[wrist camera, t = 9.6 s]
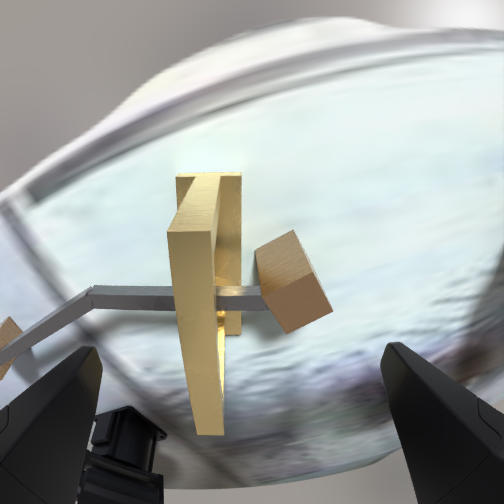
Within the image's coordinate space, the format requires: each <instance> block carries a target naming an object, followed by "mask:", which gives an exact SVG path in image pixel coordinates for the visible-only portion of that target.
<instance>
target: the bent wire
mask: <svg viewBox="0 0 504 504" xmlns="http://www.w3.org/2000/svg"><path fill="white" fill-rule="evenodd" d="M255 254H256V261H257V267H258V274H259V281H260V286H215V288H216V308H217V311H255V310H271V312H272V313H273V315H274V316H275V318H276V319H277V321H278V322H279V324H280V325H281V327H282V328H283V330H284V331H285V333H286V334H288V333H290V332H292V331H294V330H296V329H299V328H301V327H303V326H305V325H307V324H309V323H311V322H313V321H315V320H317V319H319V318H321V317H323V316H325V315H327V314H329V313H331V312H333V309H332V307H331V305H330V303H329V301H328V298H327V296H326V294H325V292H324V290H323V287H322V285H321V283H320V281H319V279H318V277H317V275H316V272H315V270H314V268H313V266H312V264H311V262H310V260H309V258H308V256H307V254H306V252H305V251H304V249H303V247H302V245H301V243H300V241H299V239H298V237H297V236H296V234H295V232H294V230H292V231H290V232H288V233H286V234H284V235H283V236H281V237H279V238H277V239H275V240H273V241H271V242H269V243H267V244H266V245H264V246H262V247H260V248H258V249H256V250H255ZM94 308H96V309H119V310H154V311H176V309H175V302H174V294H173V286H103V285H94V286H93V288H92V287H91V286H90V287H89V288H87V289H86V290H84V291H83V292H81V293H80V294H78V295H77V296H75V297H74V298H72V299H71V300H69V301H68V302H66V303H65V304H63V305H62V306H60V307H59V308H57V309H56V310H55V311H53V312H52V313H50V314H49V315H47V316H46V317H44V318H43V319H41V320H40V321H39V322H37V323H36V324H34V325H33V326H31V327H30V328H29V329H27V330H26V331H24V332H22V331H21V330H20V328H19V327H18V326H17V325H16V324H15V323H14V321H13V320H12V319H11V318H10V317H8V318H7V319H5V320H4V321H3V322H2V323H1V324H0V380H2V379H3V378H4V376H5V374H6V373H7V371H8V370H9V368H10V366H11V365H12V363H13V362H14V360H15V358H16V357H17V356H18V355H19V354H21V353H22V352H24V351H26V350H27V349H29V348H30V347H32V346H34V345H35V344H37V343H38V342H40V341H42V340H43V339H45V338H46V337H48V336H50V335H51V334H53V333H55V332H56V331H58V330H59V329H61V328H63V327H64V326H66V325H68V324H69V323H71V322H73V321H74V320H76V319H77V318H79V317H81V316H82V315H84V314H86V313H87V312H89V311H91V310H92V309H94Z"/></svg>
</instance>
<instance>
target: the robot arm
mask: <svg viewBox="0 0 504 504" xmlns="http://www.w3.org/2000/svg"><path fill="white" fill-rule="evenodd" d="M380 368H381V373H382V377H383V381H384V386H385V390H386V395H387V400H388V404H389V408H390V411H391V414H392V418H393V421H394V424H395V427H396V430H397V433H398V436H399V439H400V442H401V446H402V449H403V452H404V455H405V459H406V462H407V466H408V469H409V472H410V476H411V479H412V483H413V487H414V490H415V494H416V497H417V502H418V504H504V414H503V413H501V412H499V411H498V410H496V409H495V408H493V407H492V406H490V405H489V404H487V403H486V402H485V401H483V400H482V399H480V398H479V397H478V398H477V396H476V395H475V394H473V393H472V392H471V391H469V390H468V389H466V388H465V387H463V386H462V385H461V384H459V383H458V382H456V381H455V380H454V379H452V378H451V377H449V376H448V375H447V374H445V373H444V372H442V371H441V370H439V369H438V368H437V367H435V366H434V365H432V364H431V363H430V362H428V361H427V360H425V359H424V358H422V357H421V356H420V355H418V354H417V353H415V352H414V351H413V350H411V349H410V348H408V347H407V346H405V345H404V344H403V343H401V342H391V343H388V344H387V345H386V348H385V351H384V353H383V356H382V359H381V363H380ZM102 372H103V367H102V363H101V360H100V358H99V355H98V352H97V350H96V348H95V347H94V346H86V345H83V346H81V347H80V348H78V349H77V350H76V351H74V352H73V353H72V354H71V355H69V356H68V357H67V358H65V359H64V360H63V361H62V362H60V363H59V364H58V365H57V366H55V367H54V368H53V369H51V370H50V371H49V372H48V373H46V374H45V375H44V376H43V377H41V378H40V379H39V380H38V381H36V382H35V383H34V384H32V385H31V386H30V387H29V388H27V389H26V390H25V391H24V392H22V393H21V394H20V395H19V396H18V397H16V398H15V399H14V400H13V401H11V402H10V403H9V405H6V406H5V407H4V408H3V409H1V410H0V504H75V502H76V501H77V502H78V503H77V504H164V489H163V475H161V474H155V473H152V467H153V460H154V453H155V447H156V441H160V440H164V439H166V438H167V434H166V433H164V432H163V431H162V430H160V429H159V428H158V427H156V426H155V425H154V424H153V423H151V422H150V421H149V420H148V419H146V418H145V417H144V416H143V415H141V414H140V413H139V412H138V411H136V410H135V409H134V408H133V407H131V406H126V407H122V408H119V409H116V410H113V411H109V412H106V413H102V414H99V415H96V416H95V413H96V408H97V402H98V396H99V390H100V384H101V378H102ZM93 421H95V422H96V426H95V429H94V432H93V435H92V439H91V444H92V445H93V447H92V451H91V452H90V451H89V450H87V445H88V441H89V437H90V433H91V429H92V425H93ZM85 469H86V471H85Z"/></svg>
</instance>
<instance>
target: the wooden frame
mask: <svg viewBox="0 0 504 504" xmlns="http://www.w3.org/2000/svg"><path fill="white" fill-rule="evenodd" d="M176 193H177V210H178V211H177V213H176V215H175V217H174V219H173V221H172V223H171V225H170V227H169V229H168V231H167V239H168V249H169V259H170V268H171V277H172V286H173V294H174V302H175V309H176V317H177V324H178V331H179V337H180V344H181V350H182V356H183V362H184V368H185V374H186V380H187V385H188V391H189V396H190V401H191V406H192V411H193V416H194V421H195V426H196V431H197V435H224V367H225V335H241V311H217V308H216V288H215V286H241V172H213V173H179V174H178V175H177V176H176Z"/></svg>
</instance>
